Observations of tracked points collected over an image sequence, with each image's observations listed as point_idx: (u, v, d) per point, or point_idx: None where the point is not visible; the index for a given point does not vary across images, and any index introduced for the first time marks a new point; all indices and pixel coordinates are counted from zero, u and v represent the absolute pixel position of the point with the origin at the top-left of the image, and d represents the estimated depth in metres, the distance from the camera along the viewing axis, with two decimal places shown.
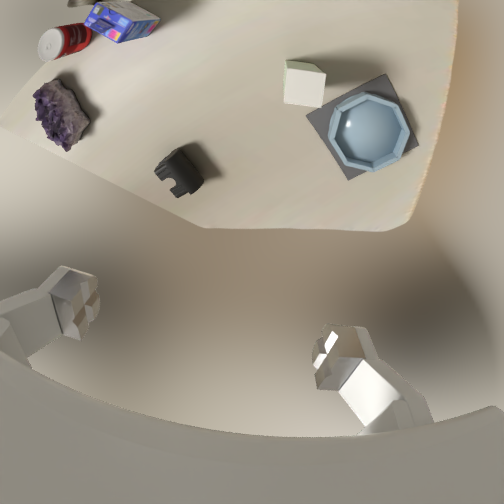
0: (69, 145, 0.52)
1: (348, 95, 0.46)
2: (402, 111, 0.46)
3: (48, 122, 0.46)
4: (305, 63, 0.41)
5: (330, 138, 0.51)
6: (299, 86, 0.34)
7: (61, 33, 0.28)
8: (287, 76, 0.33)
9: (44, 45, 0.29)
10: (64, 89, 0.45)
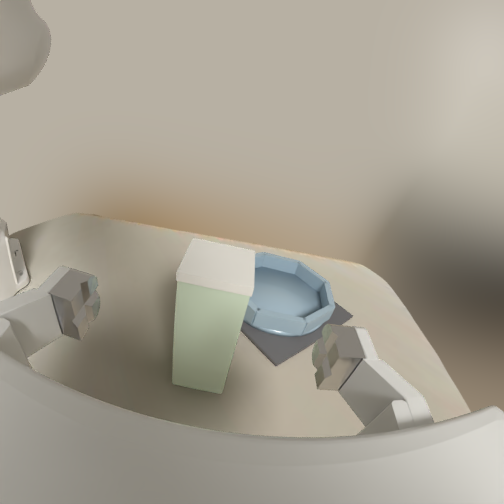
0: None
1: None
2: None
3: None
4: None
5: (304, 322, 0.35)
6: (216, 264, 0.21)
7: None
8: (194, 274, 0.19)
9: None
10: None
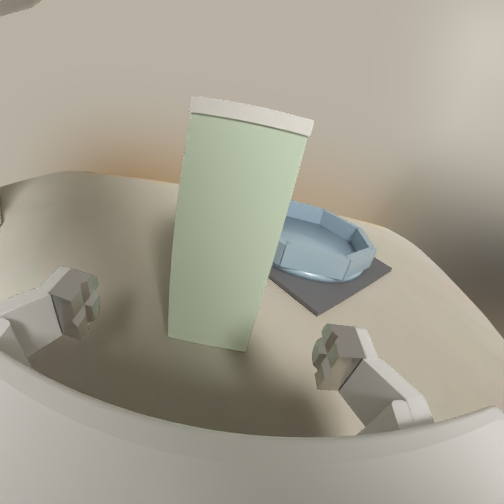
0: None
1: None
2: None
3: None
4: None
5: (347, 259, 0.27)
6: None
7: None
8: None
9: None
10: None
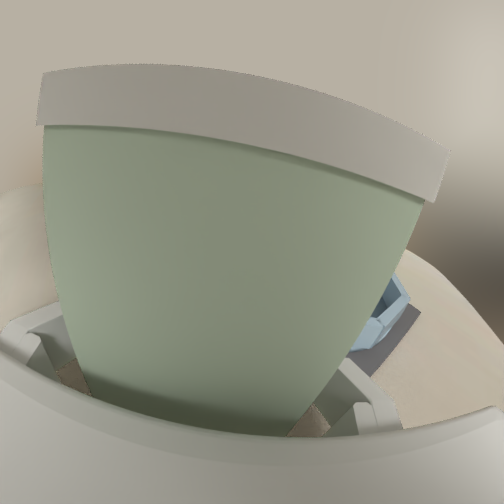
0: None
1: None
2: None
3: None
4: None
5: (379, 325, 0.18)
6: None
7: None
8: (120, 66, 0.02)
9: None
10: None
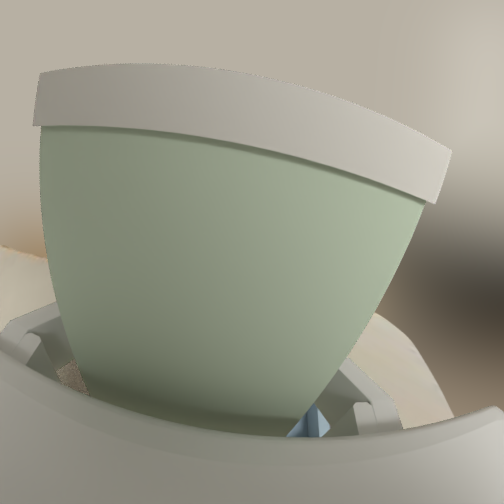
0: None
1: None
2: None
3: None
4: None
5: None
6: None
7: None
8: (116, 66, 0.02)
9: None
10: None
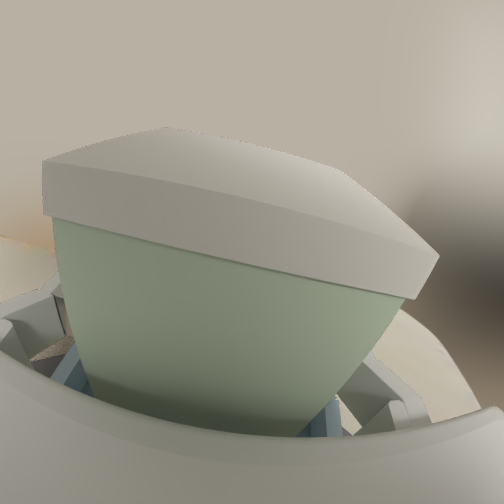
0: None
1: None
2: None
3: None
4: None
5: None
6: (241, 162, 0.05)
7: None
8: (123, 169, 0.03)
9: None
10: None
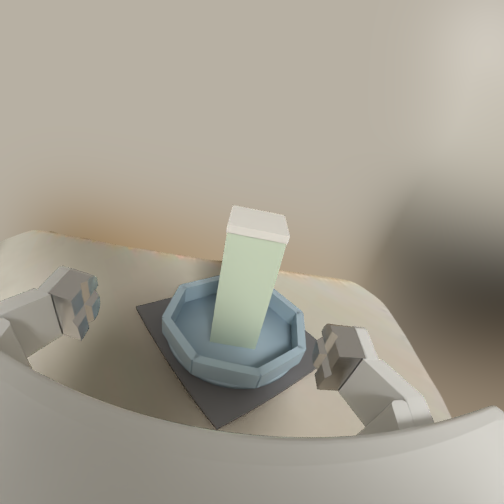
0: None
1: (170, 356, 0.29)
2: None
3: None
4: None
5: (257, 374, 0.25)
6: (257, 221, 0.26)
7: None
8: (241, 226, 0.25)
9: None
10: None
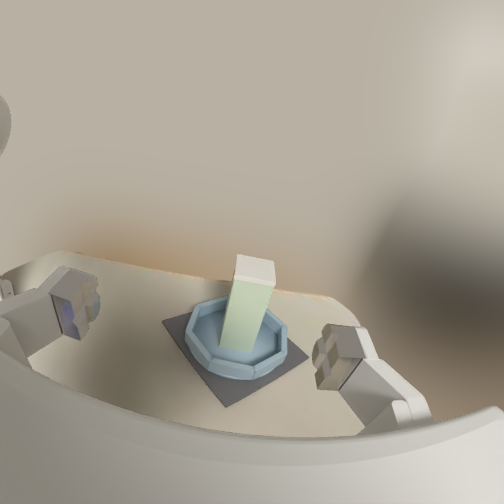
0: None
1: (191, 357, 0.41)
2: None
3: None
4: None
5: (252, 370, 0.38)
6: (254, 270, 0.39)
7: None
8: (244, 275, 0.37)
9: None
10: None
